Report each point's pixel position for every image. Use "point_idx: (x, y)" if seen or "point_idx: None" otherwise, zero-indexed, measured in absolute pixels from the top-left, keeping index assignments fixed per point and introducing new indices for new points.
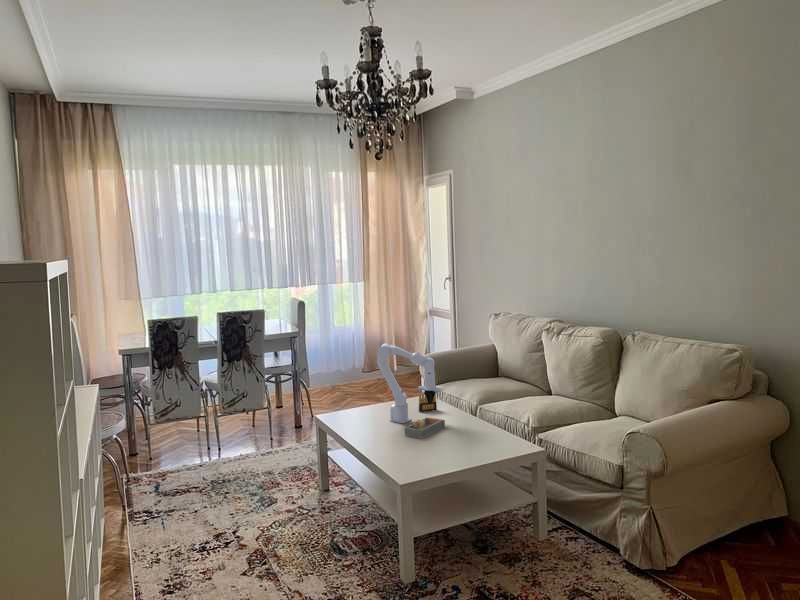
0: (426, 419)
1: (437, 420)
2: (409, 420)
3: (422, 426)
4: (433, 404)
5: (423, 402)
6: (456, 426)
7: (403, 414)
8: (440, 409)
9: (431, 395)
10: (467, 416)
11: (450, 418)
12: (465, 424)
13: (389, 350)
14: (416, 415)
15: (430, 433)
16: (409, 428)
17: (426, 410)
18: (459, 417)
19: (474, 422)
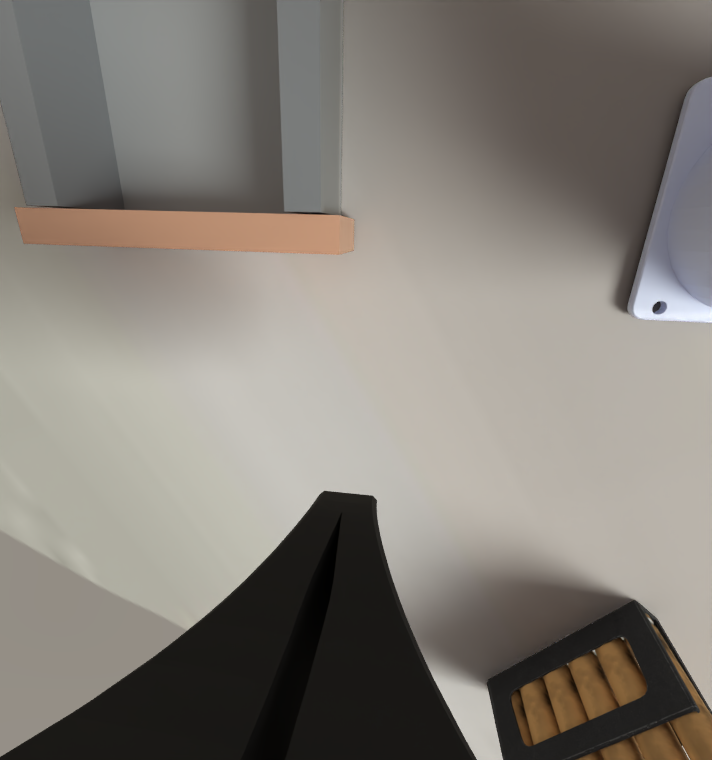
0: (286, 158)
1: (127, 210)
2: (641, 259)
3: None
4: (532, 743)
5: (653, 740)
6: (33, 321)
7: None
8: (464, 702)
9: (79, 719)
10: (159, 604)
11: (242, 520)
12: (19, 413)
13: None
14: (628, 497)
15: None
16: None
17: (573, 644)
18: (194, 566)
19: (7, 490)
